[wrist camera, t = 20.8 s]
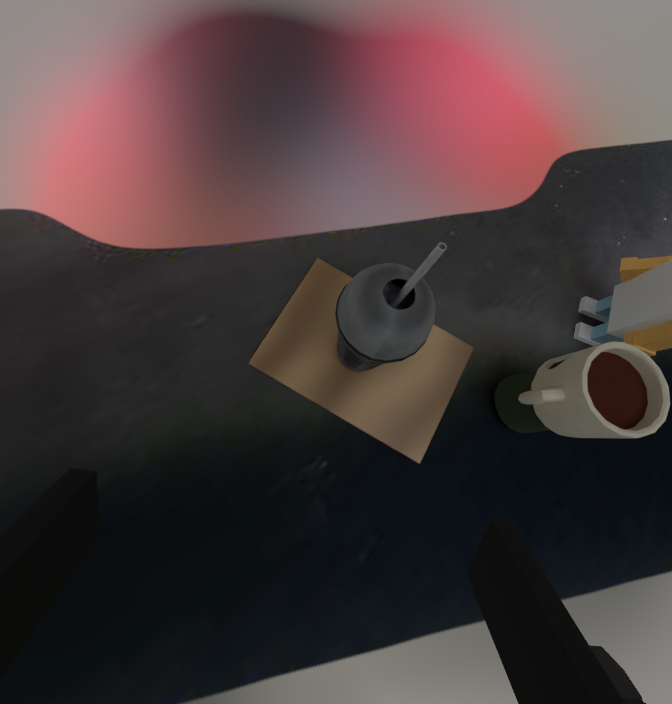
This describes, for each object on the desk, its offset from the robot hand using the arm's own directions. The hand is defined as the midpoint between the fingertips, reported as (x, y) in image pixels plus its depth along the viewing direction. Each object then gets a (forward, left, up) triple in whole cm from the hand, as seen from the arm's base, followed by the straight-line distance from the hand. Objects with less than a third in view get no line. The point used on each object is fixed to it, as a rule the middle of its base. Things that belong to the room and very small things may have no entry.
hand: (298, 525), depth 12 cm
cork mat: (+1, +13, -23) cm, 27 cm away
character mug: (+18, +17, -23) cm, 34 cm away
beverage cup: (0, +13, -23) cm, 26 cm away
